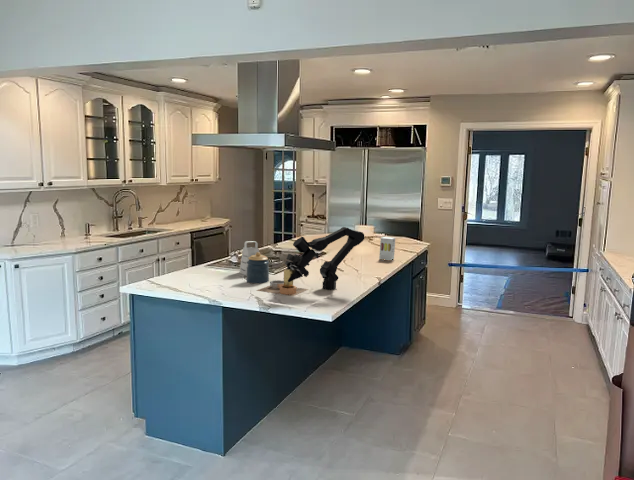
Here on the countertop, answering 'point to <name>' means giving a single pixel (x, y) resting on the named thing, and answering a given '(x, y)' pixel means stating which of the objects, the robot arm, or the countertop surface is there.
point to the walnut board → (277, 291)
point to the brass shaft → (286, 276)
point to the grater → (247, 256)
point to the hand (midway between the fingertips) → (286, 280)
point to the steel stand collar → (276, 284)
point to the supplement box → (387, 248)
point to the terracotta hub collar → (287, 290)
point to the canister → (257, 269)
